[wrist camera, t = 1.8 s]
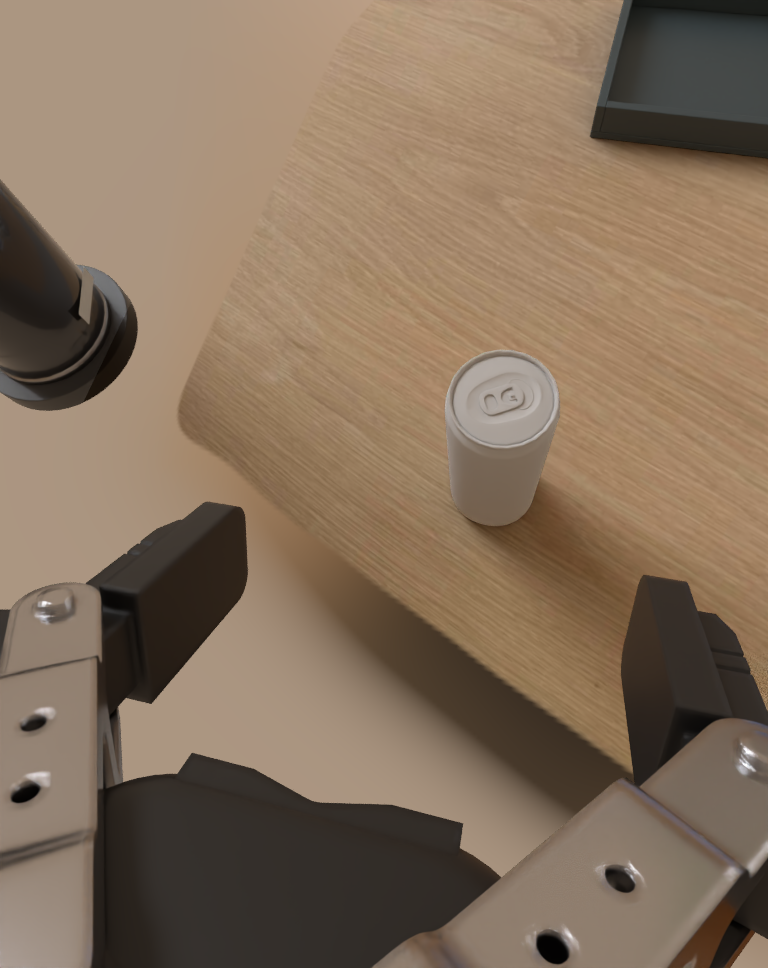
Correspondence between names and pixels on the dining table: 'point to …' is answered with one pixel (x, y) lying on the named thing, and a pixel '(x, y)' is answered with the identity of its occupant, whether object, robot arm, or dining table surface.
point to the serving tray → (688, 76)
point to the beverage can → (499, 434)
